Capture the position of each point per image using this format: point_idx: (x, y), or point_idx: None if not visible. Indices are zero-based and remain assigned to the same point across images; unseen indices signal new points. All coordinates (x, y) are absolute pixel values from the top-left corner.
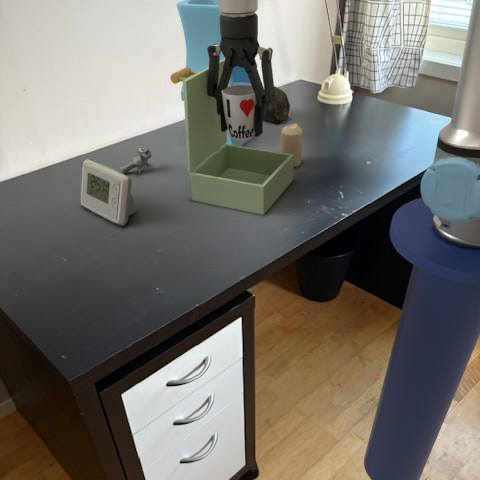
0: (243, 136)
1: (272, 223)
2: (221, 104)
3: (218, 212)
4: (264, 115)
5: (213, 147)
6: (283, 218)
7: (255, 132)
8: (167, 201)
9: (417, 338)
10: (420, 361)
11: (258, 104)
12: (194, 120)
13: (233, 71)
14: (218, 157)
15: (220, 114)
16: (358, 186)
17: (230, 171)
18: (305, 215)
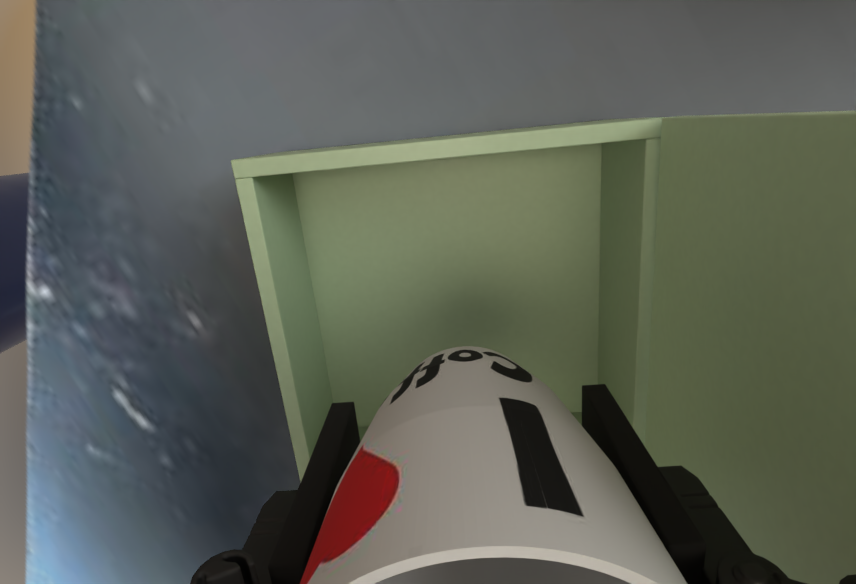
0: (416, 368)
1: (212, 109)
2: (671, 522)
3: (452, 81)
4: (258, 528)
5: (658, 381)
6: (200, 166)
7: (344, 416)
8: (715, 56)
9: (3, 184)
10: (27, 174)
11: (229, 567)
12: (830, 243)
13: None
14: (625, 379)
15: (649, 457)
16: (120, 482)
17: (573, 390)
18: (146, 225)
